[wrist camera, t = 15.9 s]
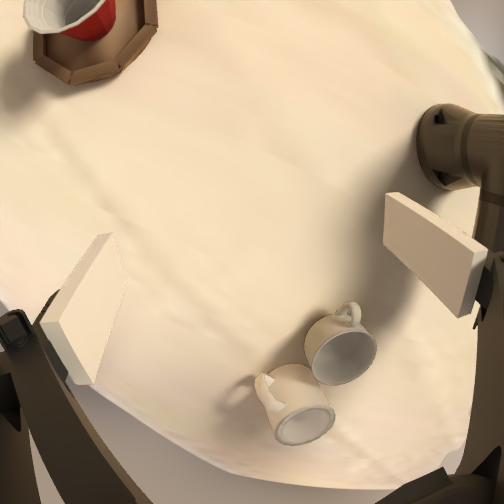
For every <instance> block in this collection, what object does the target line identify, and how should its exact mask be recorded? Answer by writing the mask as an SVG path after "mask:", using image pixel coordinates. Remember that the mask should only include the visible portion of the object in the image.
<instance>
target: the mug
mask: <svg viewBox="0 0 504 504" xmlns="http://www.w3.org/2000/svg"><path fill="white" fill-rule="evenodd" d="M254 387H255V390H256V393H257V395H258V398H259V399H260V400H261V402H262V403H263V405H264V407H265V410H266V413H267V416H268V419H269V422H270V425H271V428H272V431H273V433H274V436H275V438H276V439H277V441H278V442H280V443H282V444H284V445H290V446H295V445H302V444H306V443H309V442H312V441H314V440H316V439H318V438H319V437H321V436H322V435H324V434H325V433H326V432H327V431H328V430H329V429H330V428H331V427H332V425H333V423H334V421H335V413H334V411H333V409H332V407H331V405H330V403H329V402H328V400H327V398H326V396H325V395H324V393H323V391H322V389H321V388H320V386H319V384H318V382H317V381H316V379H315V377H314V376H313V374H312V372H311V370H310V369H309V368H307V367H306V366H304V365H300V364H287V365H283V366H280V367H278V368H276V369H274V370H272V371H271V372H270V373H268V374H265V373H263V372H262V373H261V374H260V375H259V376H258V377H257V378H256V379H255V385H254Z"/></svg>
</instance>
